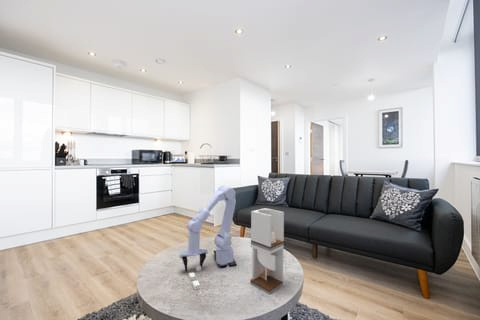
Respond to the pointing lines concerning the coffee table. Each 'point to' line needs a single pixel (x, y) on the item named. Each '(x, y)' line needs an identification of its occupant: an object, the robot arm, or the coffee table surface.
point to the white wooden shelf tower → (267, 249)
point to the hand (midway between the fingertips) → (193, 269)
